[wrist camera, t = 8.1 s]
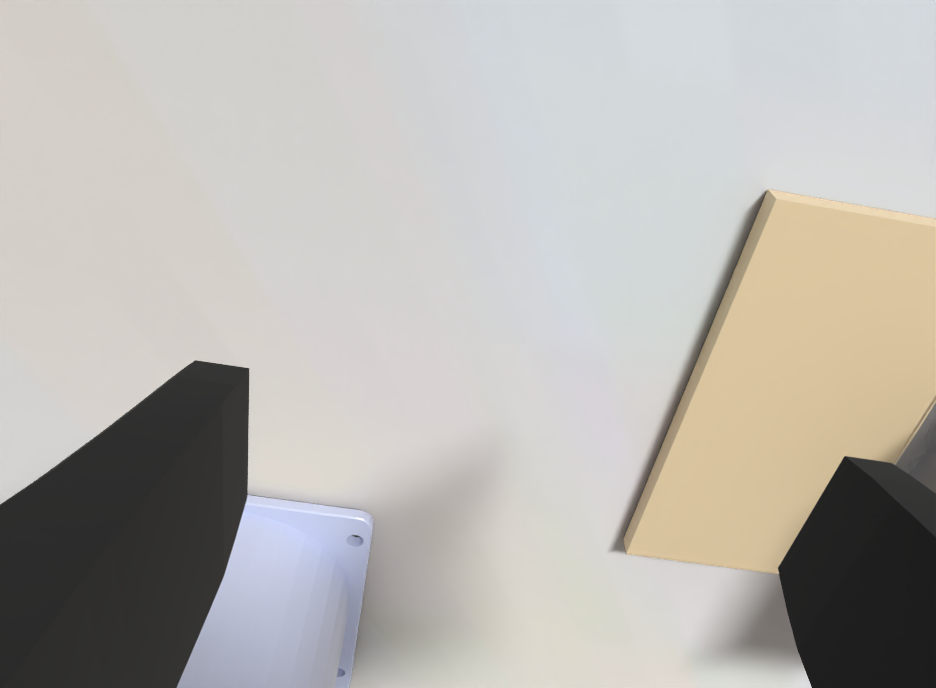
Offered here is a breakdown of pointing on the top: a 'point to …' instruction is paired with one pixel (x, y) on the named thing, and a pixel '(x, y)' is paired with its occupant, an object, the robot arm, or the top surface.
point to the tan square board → (794, 381)
